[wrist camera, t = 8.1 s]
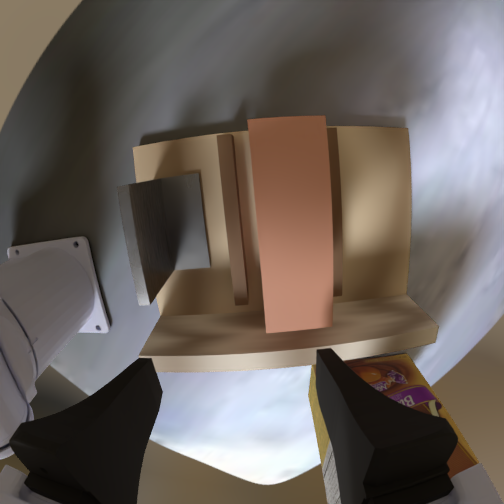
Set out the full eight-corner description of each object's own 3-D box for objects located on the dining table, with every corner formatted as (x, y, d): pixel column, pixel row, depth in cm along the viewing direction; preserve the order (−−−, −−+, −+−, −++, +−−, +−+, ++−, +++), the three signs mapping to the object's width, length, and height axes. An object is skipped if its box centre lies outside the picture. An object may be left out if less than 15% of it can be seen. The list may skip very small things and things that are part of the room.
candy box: (408, 348, 23) (495, 481, 8) (397, 385, 24) (462, 514, 10) (310, 356, 23) (352, 533, 8) (305, 395, 24) (333, 554, 10)
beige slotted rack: (167, 323, 22) (143, 371, 17) (138, 147, 19) (95, 144, 13) (399, 302, 22) (435, 342, 16) (401, 129, 18) (449, 121, 12)
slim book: (262, 276, 20) (266, 333, 13) (250, 135, 17) (247, 119, 11) (308, 272, 20) (332, 326, 13) (299, 132, 17) (325, 115, 11)
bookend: (167, 269, 20) (139, 305, 15) (153, 179, 18) (117, 187, 13) (210, 265, 20) (195, 302, 15) (199, 172, 18) (177, 177, 13)
